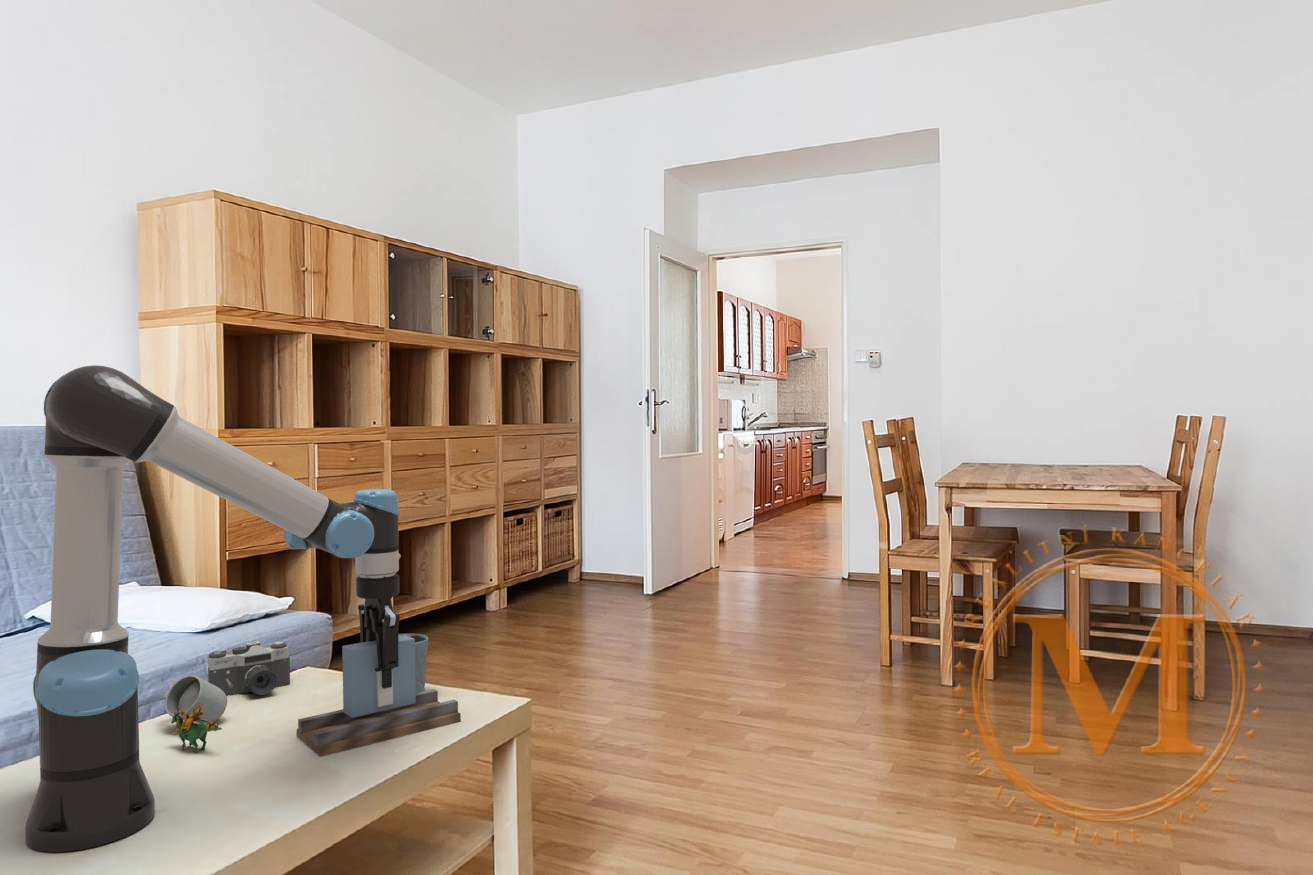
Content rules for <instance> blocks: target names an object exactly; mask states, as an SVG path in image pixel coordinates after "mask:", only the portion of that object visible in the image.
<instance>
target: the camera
mask: <svg viewBox="0 0 1313 875" xmlns="http://www.w3.org/2000/svg"><path fill="white" fill-rule="evenodd" d="M245 645H246V646H238V647H234V648H232V649H231V647H230V646H228V647H227V650H221V651H214V652H211V653H209V654H208V657H207V677H208V678H207V682H209V683H211V684H213V685H215V686H217V687H218V688H220V689H221V690H222V691H223V692H224V693H225V694H226V697H230V696H235V695H236V696H237V695H243V694H249V693H253V694H255V695H257V696H264V695H267V694H270V693H271V692H272V691H273V690H274V689H275V688H281V687H286V686H290V684H291V667H290V666H291V663H290V662H291V661H290V659H291V658H290V655H289V646H288V645H287V643H285V642H283V641H277V642H273V643H272V644H271V645H270V646H262V645H261V643H260V641H258V640H257V641H255V642H253V643H250V642H246V643H245ZM228 695H229V696H228Z"/></svg>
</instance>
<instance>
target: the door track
mask: <svg viewBox="0 0 1313 875" xmlns="http://www.w3.org/2000/svg"><path fill="white" fill-rule="evenodd" d="M438 692H439V691H438V690H437V689H434V688H433V689H430V690H425V691H424V692H419V693H416V703H415V704H410V705H406V706H402V707H397V708H393V709H388V710H384V711H380V712H375V713H371V714H367V715H362V716H358V717H353V718H351V717H350V716H348V715H347V714H345V713H344V712H343V709H338V710H334V711H329V712H325V713H320V714H315V715H313V716H307V717H302V718H298V720H297V721H298V723H297V727H298V728H296V738H298V740H300V741H301V742H302V743H304V745H305V746H307V747H308V749H310V750H311V751H312V752H314V753H315V754H316V756H318V757H324V756H328V755H332V754H336V753H341V752H343V751H347V750H352V749H355V748H360V747H364V746H368V745H372V744H375V743H380V742H383V741H387V740H392V739H396V738H400V737H403V736H408V735H411V734H414V733H415V734H416V733H419V732H423V731H427V730H430V729H435V728H439V727H443V726H447V725H451V724H455V723H459V722H461V717H462V716H461V712H459V703H458V702H459V701H457V699H452V700H445V701H441V702H440V701H439V700H438V697H439V696H438V695H439V694H438Z"/></svg>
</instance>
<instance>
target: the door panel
mask: <svg viewBox="0 0 1313 875" xmlns="http://www.w3.org/2000/svg"><path fill="white" fill-rule="evenodd" d="M341 648H342V653H341V654H342V658H341V659H342V696H343V697H342V705H343V706H342V708H343V712H344V713H345V714H347V715H348V716H350V717H351V718H353V717H358V716H362V715H367V714H371V713H375V712H380V711H384V710H388V709H393V708H397V707H402V706H406V705H410V704H415V703H416V689H415V639H414V638H411V637H409V636H407V635H403V636H398V667H395V668H393V704H389V705H385V706H380V707H378V706H377V674H376V671H375V668H379V665H378V654H377V644H376V640H375V641H369V642H363V643H360V642H357V643H353V644H352V643H351V644H346V645H342V646H341Z"/></svg>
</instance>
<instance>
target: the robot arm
mask: <svg viewBox="0 0 1313 875" xmlns="http://www.w3.org/2000/svg"><path fill="white" fill-rule="evenodd" d="M43 414H44V417H45V428H44V430H45V433H44V435H45V436H44V458H46V459H47V460H48V461H49V462H50V463H51V464H52V465H53V466H54V468H55V469H56V470H55V473H56V474H55V494H54V495H55V496H54V497H55V498H54V518H53V519H54V522H53V523H54V526H53V547H52V550H53V551H52V571H51V572H52V576H51V600H50V601H51V603H50V627H49V628H48V630H46V631H45V632H44V633H43V634H42V635H40V637H38V638H37V647H36V648H37V649H36V666H35V667H36V669H35V675H34V678H33V682H32V693H33V697H34V700H35V702H36V710H37V718H38V739H39V740H38V741H39V742H38V743H39V745H38V747H39V767H40V768H39V770H40V771H39V772H40V773H39V774H40V776H39V777H40V779H39V784H38V788H37V790H36V793H35V797H34V799H33V802H32V806H31V808H30V811H29V814H28V817H27V820H26V823H25V843H26V846H28V848H31V849H32V850H35V851H39V852H45V853H46V852H47V853H48V852H49V853H64V852H72V851H73V852H74V851H80V850H85V849H89V848H90V849H92V848H94V847H95V848H96V847H99V846H102V845H106V844H109V843H112V842H115V841H118V840H120V839H123V838H125V837H128V836H131V834H134V833H136V832H137V831H139V830H141V829H142V828H144V827H146V825H148V824H149V823H150V822H151V821H152V820H153V819H154V817H155V814H156V810H155V809H156V807H155V806H156V805H155V804H156V803H155V796H154V793H153V791H152V788H151V786H150V784H149V782H148V779H147V777H146V774H145V771H144V769H143V767H142V765H141V762H140V732H139V731H140V728H139V691H138V690H139V689H138V687H139V684H140V675H139V672H138V668H137V667H138V666H137V662H136V660H135V658H134V657H133V656H132V655H130V654H129V634H130V633H129V631H128V630H127V629H125V628H124V627H123V626H122V625H120V624H119V622H118V620H119V618H118V616H119V592H120V571H121V570H120V569H121V568H120V566H121V565H120V564H121V544H122V543H121V542H122V541H121V540H122V538H121V537H122V536H121V534H122V512H123V511H122V510H123V486H124V485H123V484H124V469H125V467H127V465H128V464H130V463H131V462H134V463H136V464H138V463H142V462H143V463H144V462H150V463H152V464H154V465H156V466H158V467H160V468H162V469H164V470H166V471H168V472H170V473H171V474H174V475H176V476H178V477H180V478H182V479H183V480H186V481H188V482H190V483H192V484H193V485H196V486H198V487H200V488H202V489H203V490H205V491H207V492H209V493H211V494H214V495H216V496H217V497H220V498H221V499H224V500H226V501H227V502H229V503H232V504H233V505H236V506H238V507H239V508H241V509H243V510H246V511H247V512H249V513H251V514H253V515H255V516H257V517H259V518H261V519H263V520H264V521H267V522H269V523H270V524H273V525H275V526H277V527H279V528H281V529H283V538H284V541H285V544H286V545H287V547H288V548H289V549H290V550H308V549H319V550H321V551H323V552H327V553H329V554H332V555H333V556H335V557H337V558H340V559H354V558H355V560H354V561H355V574H357V575H358V576H357V577H356V578H355V584H356V586H355V587H356V588H355V592H356V593H355V594H356V597H357V598H359V599H363V600H364V603H363V604H358V605H357V607H358V608H357V609H358V615H359V634H360V635H359V638H360V640H359V641H360V642H359V643H363V642H369V641H375V640H376V644H377V654H378V665H379V668H375V671H376V674H377V706H378V707H380V706H385V705H389V704H393V668H395V667H398V634H399V626H400V625H399V624H400V619H401V618H400V615H401V614H400V613H398V612H397V613H394V608H393V604H392V598H393V597H396V596H398V595H399V594H400V575H399V574H398V573H397V572H399V570H400V563H399V561H400V559H401V557H402V555H401V553H399V516H400V512H399V500H398V496H397V493H396V492H395V491H394V490H393V489H385V488H383V489H382V488H381V489H380V488H379V489H378V488H374V489H372V488H371V489H365V490H364V489H362V490H360V489H359V490H358V491H356V492H355V493H354V498H353V501H349V502H346V503H345V502H343V503H342V502H341V503H340V502H339V503H338V502H337V501H335V500H332V499H331V498H329V497H328V496H326V495H325V494H322V493H320V492H318V491H316V490H315V489H313V488H312V487H310V486H308V485H305V484H304V483H302V482H300V481H299V480H297V479H295V478H293V477H291V476H289V475H288V474H285V473H284V472H281V471H280V470H279V469H276V468H275V467H273V466H271V465H269V464H267V463H266V462H263V461H261V460H260V459H258V458H256V457H255V456H253V455H251V454H249V453H247V452H245V451H243V450H242V449H239V448H238V447H236V446H235V445H232V444H231V443H229V442H226V441H224V440H223V439H221V438H219V437H218V436H216V435H214V434H212V433H211V432H209V431H207V430H205V429H203V428H201V427H199V426H197V425H195V424H194V423H192V422H190V421H189V420H186V419H184V418H183V417H180V416H179V413H178V409H177V406H175V405H174V404H172V403H170V402H168V401H167V400H164V398H161V397H160V396H158V395H157V394H155V393H153V392H151V391H150V390H149V389H147V388H146V387H144V386H143V385H141V383H138V382H137V381H136V380H134V379H133V378H132V377H131V376H129V375H127V374H126V373H124V372H123V371H121V370H118V369H115V368H113V367H109V366H105V365H86V366H85V365H84V366H81V367H78V368H75V369H74V368H73V369H72V370H70V371H68V372H66V373H65V374H63V375H62V376H59V377H58V379H57V380H55V381H54V382H53V383H52V384H51V386H50V387H49V389H48V391H47V392H46V395H45V396H44V401H43Z"/></svg>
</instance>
